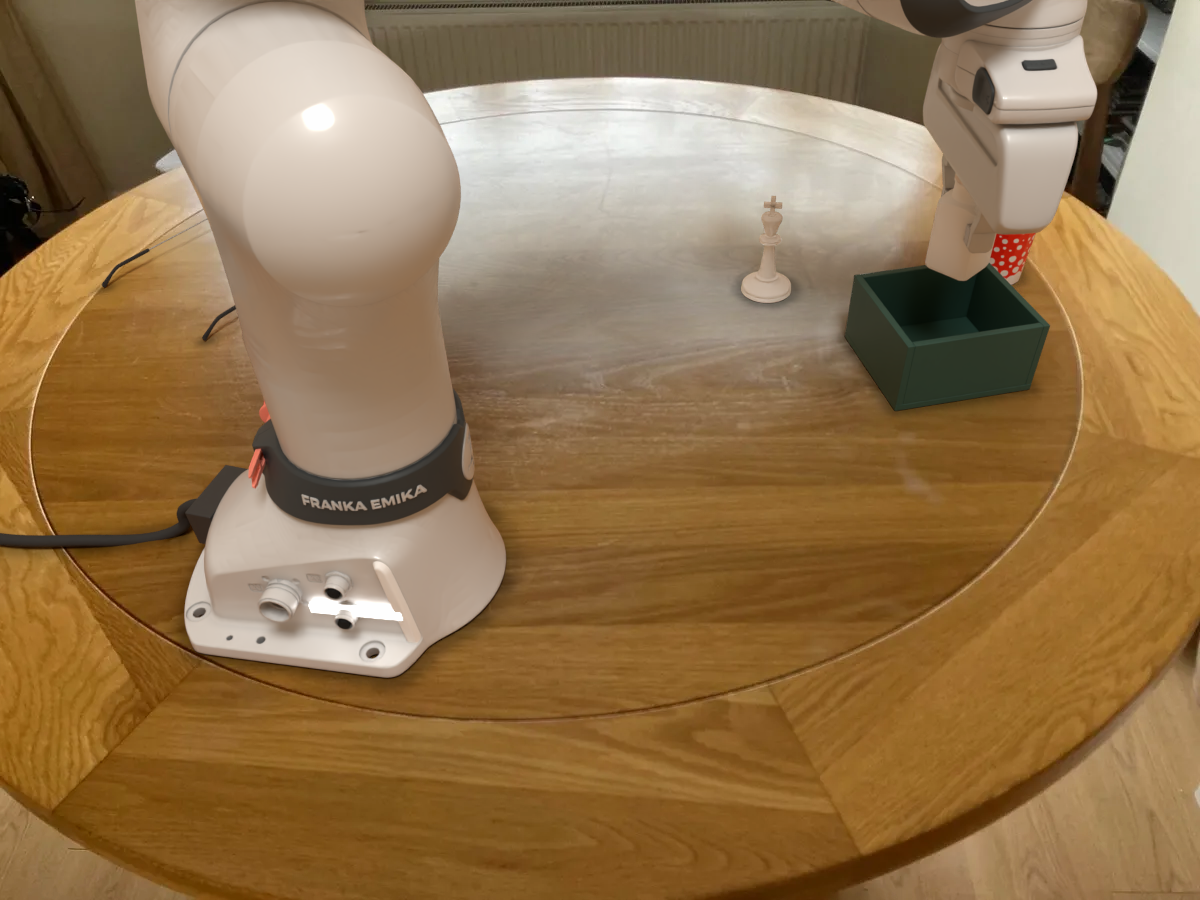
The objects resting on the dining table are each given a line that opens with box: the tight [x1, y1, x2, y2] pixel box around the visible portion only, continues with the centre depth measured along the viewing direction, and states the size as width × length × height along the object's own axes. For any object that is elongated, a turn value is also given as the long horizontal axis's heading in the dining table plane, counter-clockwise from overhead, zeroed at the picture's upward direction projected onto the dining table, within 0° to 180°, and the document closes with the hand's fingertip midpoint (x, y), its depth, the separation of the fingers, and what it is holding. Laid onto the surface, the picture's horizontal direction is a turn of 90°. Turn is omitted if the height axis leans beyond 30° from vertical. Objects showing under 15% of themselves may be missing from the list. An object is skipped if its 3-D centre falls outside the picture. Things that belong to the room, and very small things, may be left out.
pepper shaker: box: [924, 173, 997, 281], centre depth 76 cm, size 4×4×10 cm
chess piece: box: [740, 195, 792, 304], centre depth 92 cm, size 5×5×10 cm
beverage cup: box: [989, 233, 1037, 286], centre depth 91 cm, size 6×6×14 cm
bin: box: [844, 263, 1051, 412], centre depth 83 cm, size 12×11×7 cm
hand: (964, 228), depth 76 cm, fingers closed on pepper shaker, 5 cm apart
